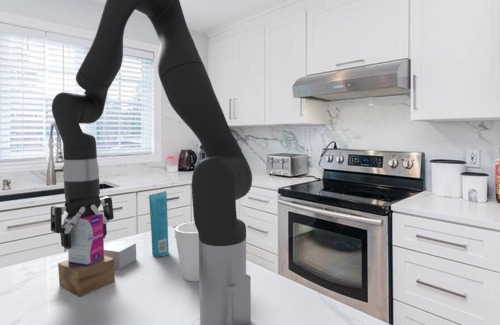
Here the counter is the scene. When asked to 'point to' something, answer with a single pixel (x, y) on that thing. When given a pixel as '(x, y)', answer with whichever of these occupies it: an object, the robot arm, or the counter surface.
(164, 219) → the tube
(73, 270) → the walnut block
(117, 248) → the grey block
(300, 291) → the counter surface
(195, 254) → the foam cup
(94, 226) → the supplement box
